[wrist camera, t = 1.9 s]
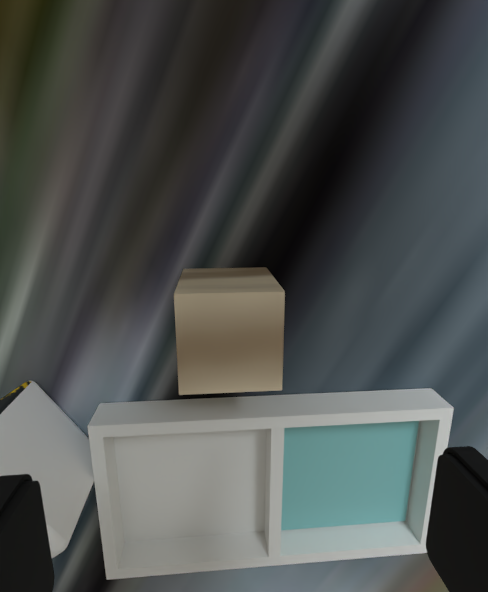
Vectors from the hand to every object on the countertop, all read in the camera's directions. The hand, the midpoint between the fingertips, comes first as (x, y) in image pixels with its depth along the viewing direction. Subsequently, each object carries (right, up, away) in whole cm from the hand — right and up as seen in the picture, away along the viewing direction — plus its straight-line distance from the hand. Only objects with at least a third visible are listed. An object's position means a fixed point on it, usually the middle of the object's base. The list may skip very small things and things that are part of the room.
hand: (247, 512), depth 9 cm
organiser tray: (+2, -7, +18) cm, 19 cm away
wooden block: (-1, +4, +14) cm, 15 cm away
